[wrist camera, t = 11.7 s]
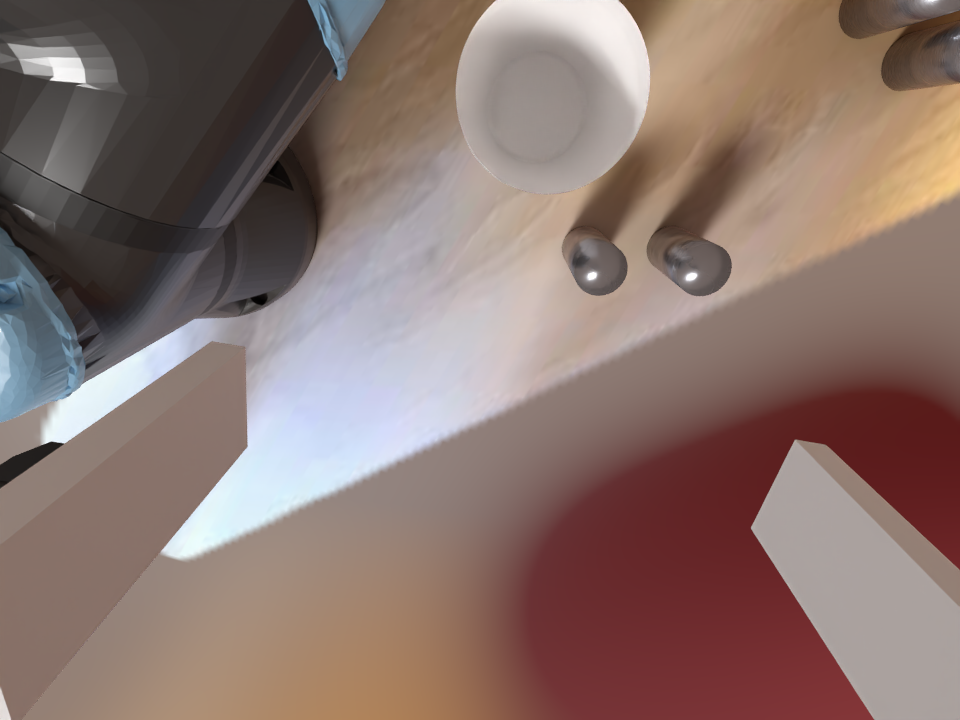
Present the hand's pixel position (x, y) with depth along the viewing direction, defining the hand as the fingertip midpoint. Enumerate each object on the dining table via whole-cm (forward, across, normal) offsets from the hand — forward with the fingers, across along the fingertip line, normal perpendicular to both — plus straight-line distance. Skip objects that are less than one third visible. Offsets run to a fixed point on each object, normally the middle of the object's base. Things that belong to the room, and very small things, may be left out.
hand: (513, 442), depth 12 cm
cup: (+27, 0, +9) cm, 29 cm away
